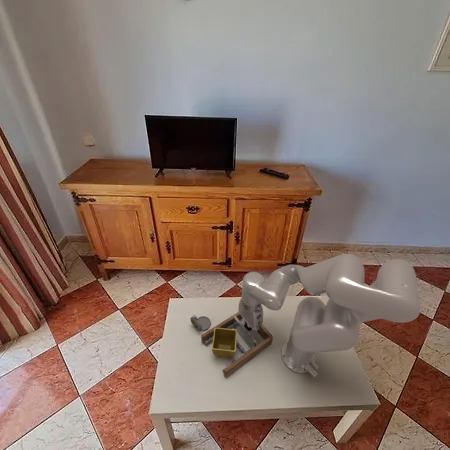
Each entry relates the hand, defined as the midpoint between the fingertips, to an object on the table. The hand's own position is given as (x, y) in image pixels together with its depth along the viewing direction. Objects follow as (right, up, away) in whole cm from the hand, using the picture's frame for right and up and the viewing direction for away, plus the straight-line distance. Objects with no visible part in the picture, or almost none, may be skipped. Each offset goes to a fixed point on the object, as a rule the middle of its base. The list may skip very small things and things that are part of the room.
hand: (248, 329), depth 106 cm
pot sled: (-8, -6, -2) cm, 10 cm away
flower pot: (-10, -8, -3) cm, 13 cm away
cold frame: (-5, -5, 0) cm, 7 cm away
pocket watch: (-20, -1, +6) cm, 21 cm away
